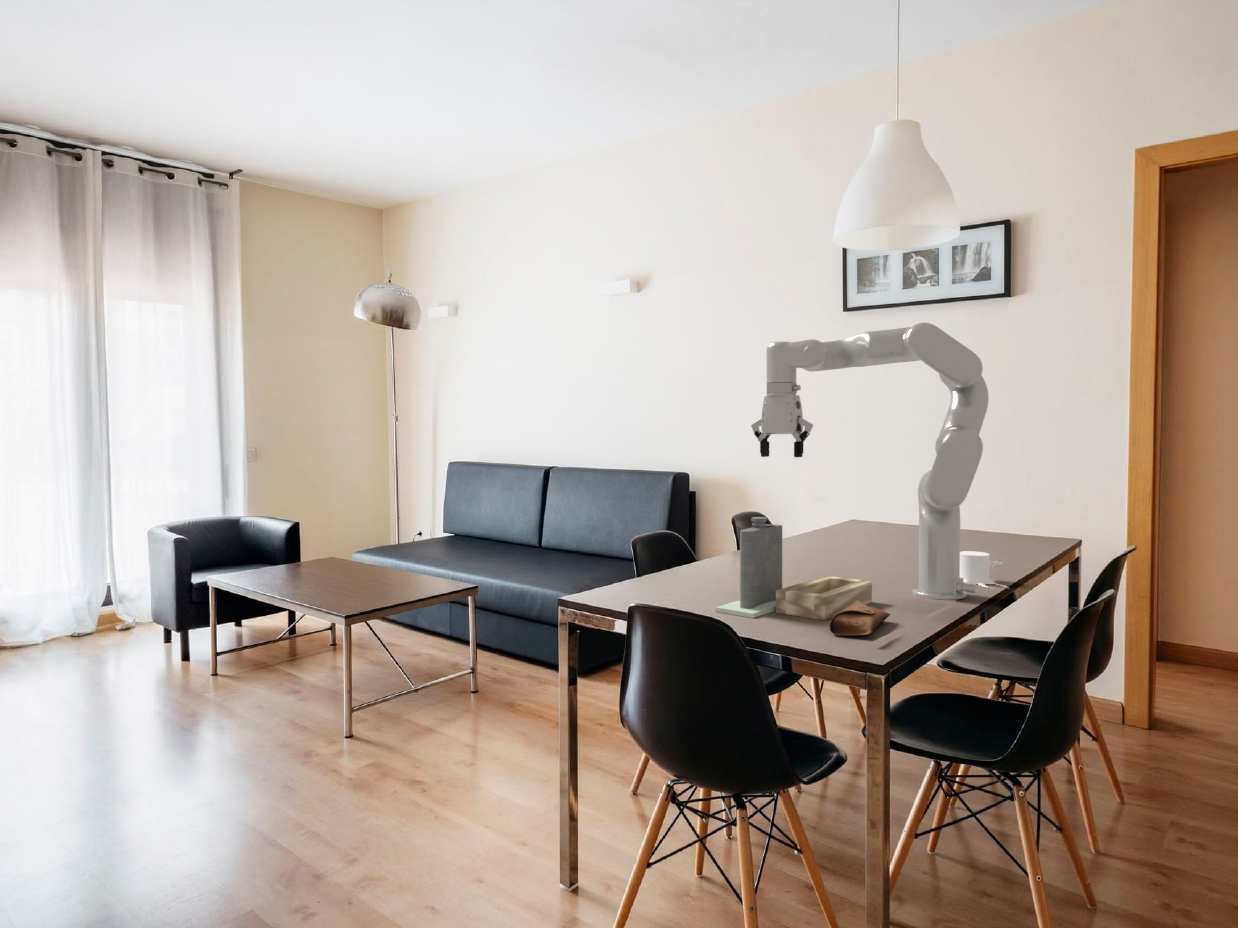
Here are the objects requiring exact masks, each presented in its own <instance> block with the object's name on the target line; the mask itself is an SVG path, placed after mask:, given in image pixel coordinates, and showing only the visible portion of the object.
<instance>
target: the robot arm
mask: <svg viewBox="0 0 1238 928" xmlns="http://www.w3.org/2000/svg"><path fill="white" fill-rule="evenodd" d="M918 361H921V362H922V363H924V364H925V365H927V366H928V367H930V368H931V369H932V370H933V371H935V372H936V373H938V375H939V378H940V381H941V382H942V384H944V385H945V386H946V387H947V388H948V391H949V393H950V401H949V402H950V403H949V406H948V409H947V412H946V415H945V418H944V421H943V424H942V427H941V429H940V431H939V434H938V437H937V438H936V440H935V446H934V447H935V448H934V449H935V453H936V454H935V455H936V456H935V459H934V462H933V464H932V466H931V469H930V470H928V471H926V472H925V473H924V474H923V475H922V476H921V478H920V480H919V482H918V486H917V499H918V501H917V503H918V514H919V515H918V517H919V518H918V525H919V526H918V527H919V528H918V586H915V587H913V588H912V589H911V593H912V595H913V596H916V597H919V598H924V599H928V600H929V599H931V600H940V601H941V600H943V601H944V600H947V601H948V600H949V601H954V600H957V601H958V600H962V599H965V598H966V597H967V593H973V594H976V593H977V591H978V585H976V584H965V582H964V578H960V552H961V507H960V506H961V505H962V504H963V503H964V501H966V498H967V497H968V494H969V492H970V489H971V486H972V484H973V481H974V478H975V475H976V473H977V470H978V467H979V465H980V463H981V459H982V456H983V451H984V449H983V448H984V447H983V441H982V438H981V436H980V432H981V430H982V426H983V424H984V420H985V418H986V415H987V412H988V407H989V391H988V390H989V389H988V385H987V383H986V380H985V379H984V377H983V375H982V374H983V368H984V367H983V363H982V360H981V358H980V357H979V356H978V355H977V354H976V352H974V351H972V349H970V348H968V347H967V346H965V345H964V344H962V342H959V341H958V340H957V339H956V338H954V337H953V336H951V335H949V334H948V333H947V332H945V331H944V330H942V329H941V328H940V327H938V326H936V325H935V324H932V323H930V322H919V323H915V324H914V325H912V326H909V327H908V326H906V327H899V328H891V329H882V330H873V331H872V330H871V331H866V332H863V333H860V334H857V335H855V336H851V337H848V338H843V339H837V340H831V341H820V340H818V339H814V338H811V339H805V340H797V341H774V342H770V343H769V344H768V345H767V346H766V395H765V396H764V398H763V403H762V408H761V419H758V420H757V421H755V422H754V423H752V424H751V425H750V426H751V429H752V431H753V435H754V436H755V437H756V439H758V440H757V441H758V442H759V453H760V457H763V458H767V457H770V441H769V440H768V439H770V437H771V436H772V435H791V436H792V437H793V438H794V440H795V441H794V442H793V457H794V458H802V457H803V454H804V442H805V441H806V439H807V438H808V437H809V436H810V434H811V432H812V429H813V427H814V424H813V423H812V422H810V421H808V420H807V419H804V416H803V407H802V401H801V400H802V399H801V397H800V395H798V391H801V389H802V388H801V384H800V385H799V384H797V369H802V370H804V371H807V372H823V371H833V370H840V369H842V370H843V369H848V368H864V367H871V366H872V367H873V366H880V365H886V364H887V365H889V364H897V363H910V362H918ZM760 427H761V428H760ZM760 429H761V430H760Z"/></svg>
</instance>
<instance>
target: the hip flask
mask: <svg viewBox="0 0 1238 928" xmlns="http://www.w3.org/2000/svg"><path fill="white" fill-rule="evenodd" d="M750 520H751V522H752V524H751V525H752V527H748V528H747V527H746V528H744V529H741V530H739V579H740V580H739V592H740V593H739V600H740V607H741V608H745V609H751V608H754V607H756V606H758V605H761V604H764V603H767V602H770V601H774V600H776V590H779V589H783V525H781V524H768V523H766V522H768V518H767V517H765V516H752V517H751V519H750Z"/></svg>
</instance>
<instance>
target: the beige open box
mask: <svg viewBox="0 0 1238 928" xmlns="http://www.w3.org/2000/svg"><path fill="white" fill-rule="evenodd" d="M872 599H873V581H872V580H864V579H856V578H850V577H849V578H848V577H839V576H833V575H832V576H831V575H824V576H821V577H816V578H813V579H810V580H807V581H802V582H800V583H799V582H798V583H797V584H793V585H789V586H786V587H782V589H779V590H776V611H775V613H778V614H784V615H790V616H797V617H802V618H809V619H816V620H821V621H827V620H829V619H833V617H834V616H835V615H836V614H838V613H840V612H842V611H843V610H844V609H845V608H847V607H848V606H850V605H852V604H853V603H854V602H855V601H856V600H858V601H860V602H862V603H864V604H865V605H868V604H870V603H872V602H873V600H872Z"/></svg>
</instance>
